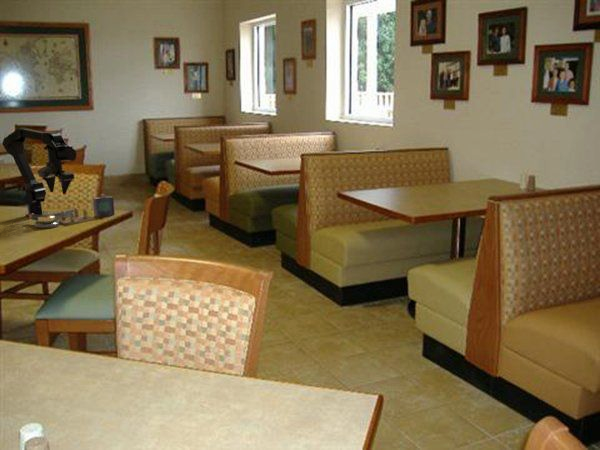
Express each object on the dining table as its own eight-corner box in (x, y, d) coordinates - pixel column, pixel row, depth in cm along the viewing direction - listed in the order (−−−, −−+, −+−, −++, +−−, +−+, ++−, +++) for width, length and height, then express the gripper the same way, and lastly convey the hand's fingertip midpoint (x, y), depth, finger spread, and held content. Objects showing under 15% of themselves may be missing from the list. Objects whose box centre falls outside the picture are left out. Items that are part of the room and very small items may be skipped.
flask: (94, 217, 288) (93, 194, 286) (94, 216, 291) (92, 194, 289) (115, 215, 292) (113, 193, 290) (114, 214, 295) (112, 192, 292)
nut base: (30, 227, 270) (28, 212, 268) (50, 222, 278) (48, 208, 276) (44, 229, 264) (42, 215, 263) (64, 225, 272) (62, 211, 271)
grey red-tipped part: (58, 221, 271) (58, 215, 271) (44, 224, 266) (44, 218, 265) (37, 217, 280) (37, 212, 279) (23, 220, 274) (23, 214, 273)
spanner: (39, 221, 282) (39, 214, 281) (68, 215, 294) (68, 208, 294) (46, 222, 279) (46, 216, 278) (75, 216, 292) (75, 210, 291)
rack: (55, 223, 277) (54, 212, 276) (81, 217, 289) (80, 206, 287) (68, 225, 272) (67, 214, 271) (94, 219, 284) (93, 209, 283)
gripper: (27, 160, 280) (30, 193, 283) (52, 163, 270) (55, 198, 273) (48, 157, 289) (51, 190, 292) (73, 160, 279) (76, 194, 282)
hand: (58, 193), depth 285 cm, fingers open, 9 cm apart
